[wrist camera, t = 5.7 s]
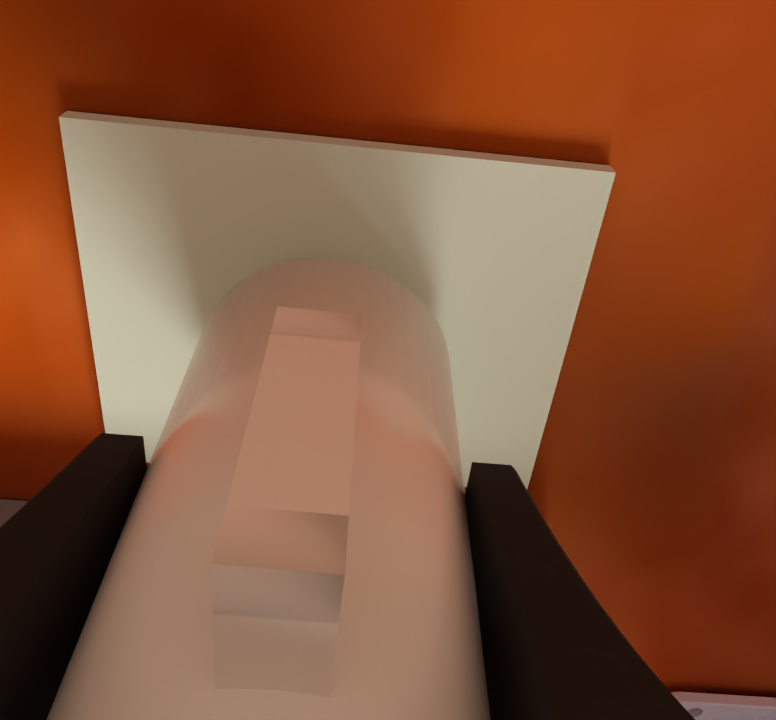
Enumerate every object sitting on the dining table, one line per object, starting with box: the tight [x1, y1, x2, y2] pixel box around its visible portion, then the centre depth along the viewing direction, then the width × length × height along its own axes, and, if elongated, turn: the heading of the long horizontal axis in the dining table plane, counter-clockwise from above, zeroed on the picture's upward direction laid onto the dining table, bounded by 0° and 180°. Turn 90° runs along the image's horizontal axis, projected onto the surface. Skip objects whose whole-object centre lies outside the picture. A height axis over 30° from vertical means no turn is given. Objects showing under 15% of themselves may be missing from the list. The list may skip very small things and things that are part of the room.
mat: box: [59, 111, 616, 489], centre depth 16 cm, size 10×8×1 cm
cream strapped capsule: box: [46, 258, 491, 720], centre depth 11 cm, size 7×5×9 cm
